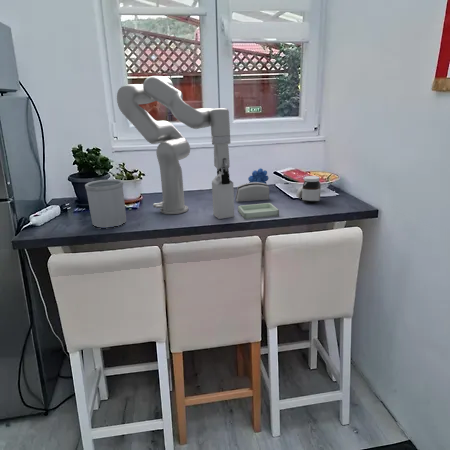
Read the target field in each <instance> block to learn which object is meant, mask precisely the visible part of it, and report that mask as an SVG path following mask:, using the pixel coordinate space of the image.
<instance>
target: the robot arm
mask: <svg viewBox="0 0 450 450" xmlns="http://www.w3.org/2000/svg"><path fill="white" fill-rule="evenodd" d="M116 102H117V106H118V109H119V110H120V112H121V114H122V115H123V116H124V117H125V118H126V120H128V121H129V122H130V123H131V124H132V125H133V126H134V128H135V129H136V130H137V131H138V132H139V133H140V135H142V137H143V138H144V139H145V140H146V142H148V143H149V144H152V145H157V144H158V145H157V148H156V158H157V162H158V166H159V171H160V180H161V181H160V182H161V193H162V201H160V202H157V203H155V202H154V203H153V205H152V206H153V208H154V209H155V208H156V209H159V210H160V213H161V214H165V215H179V214H183V213H186V212H188V211H189V206H188V205H185V194H184V181H183V180H184V179H183V178H184V177H183V170H182V167H181V164H180V162H179V161H180V160H183V159H185V158H188V157H189V155H190V153H191V146H190V144H189V141H188V140H187V139H186V137H185V136H183V134H182V133H181V132H180V131H179V130H178V129H177V128H176V126H175V125H174V124H173V123H172V122H170V121H167V120H156V119H155V118H154V117H153V116H152V115H151V114H150V113H149V112H148V111H147V110H146V109H145V108H143V107H141V105H146V104H151V103H154V102H158V103H160V104H161V105H163V107H166V108H167V109H168V110H169V111H170V113H171V114H172V115H173V116H174V118H175V119H176V120H177V121H179V122H180V123H182V124H184V125H185V126H187V127H189V128H190V129H195V130H197V129H203V128H208V127H210V131H211V132H210V133H211V134H210V135H211V144H212V145H213V163H214V164H213V165H214V167H215V168H216V174H217V175H218V174H219V171H220V172H222V175H221V178H222V184H223V185H224V184H230V180H231V179H230V172H229V171H230V170H229V169H230V167H231V165H230V151H229V145H230V144H231V127H230V126H231V125H230V124H231V123H230V110H229V109H228V108H226V107H217V108H210V107H209V108H208V107H203V108H201V107H200V108H194V107H192V106H191V105H190V104H188V103H186V102H185V101H184V100H183V92H182V91H181V90H180V89H177V88H175V86H174V84H173V82H172V80H171V79H170V78H168V77H167V76H163V75H152V76H148V77H146V78H145V80H144V81H143V83H141V84H140V83H134V84H133V83H132V84H130V83H129V84H125V85H122V86H120V88H119V89H118V91H117V93H116ZM217 175H216V176H217Z"/></svg>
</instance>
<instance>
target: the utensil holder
mask: <svg viewBox="0 0 450 450" xmlns="http://www.w3.org/2000/svg"><path fill="white" fill-rule="evenodd" d="M84 187H85V190H86V195H87V201H88V206H89V212H90V217H91V218H90V219H91V223H92V226H93V225H94V226H97V227H110V226H117V225H121V224H123V223H125V222H126V223H127V216H126V215H127V212H126V204H125V196H124V195H125V194H124V181H123V180H121V179H118V178H117V179H115V178H111V179H110V178H109V179H100V180H99V179H98V180H93V181H89V182H87V183H85V184H84ZM126 223H125V224H126ZM123 225H124V224H123ZM94 226H93V227H94ZM121 226H122V225H121Z"/></svg>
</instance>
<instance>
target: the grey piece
mask: <svg viewBox="0 0 450 450" xmlns="http://www.w3.org/2000/svg"><path fill="white" fill-rule="evenodd" d="M236 188H237V190H236V194H235V197H234V198H235V199H234V200H235V201H236V202H239V203H240V202H249V201H250V202H252V201H264V200H266V201H267V200H270V188H269V185H268V184H267V183H266V184H265V183H260V182H251V183H249V182H246V183H242V184H239V185H238V186H237V187H236Z"/></svg>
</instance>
